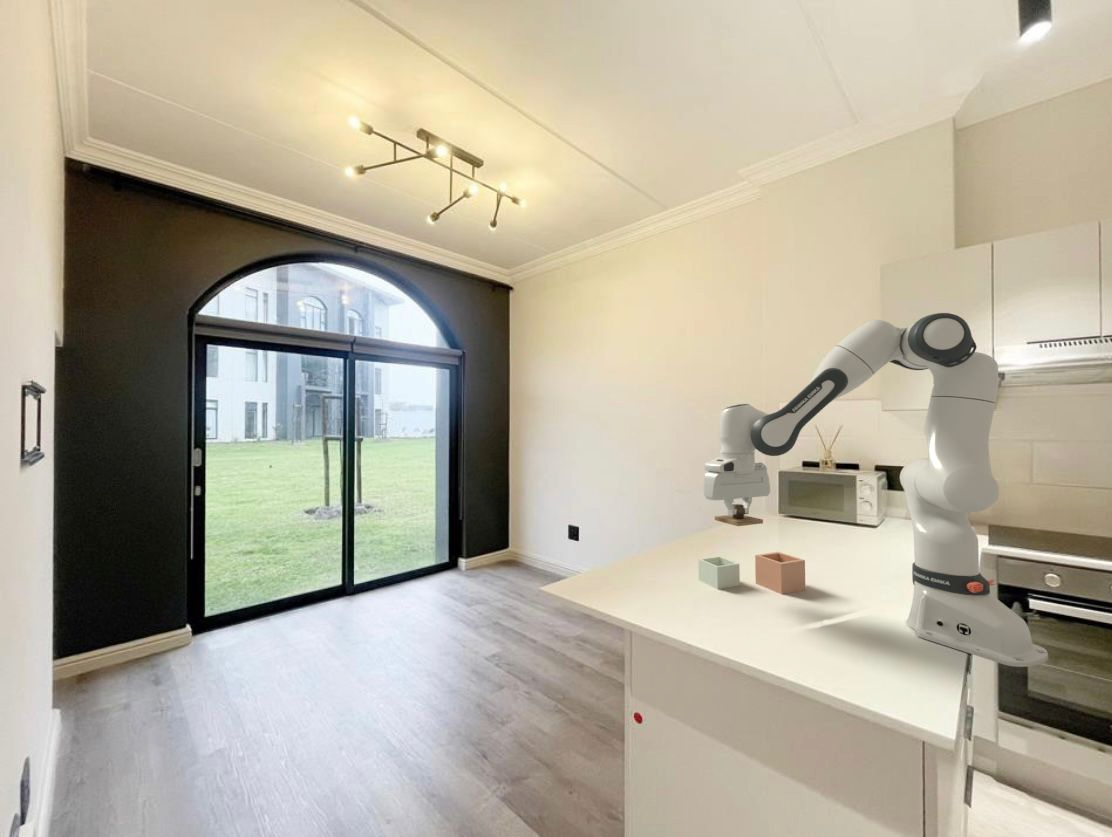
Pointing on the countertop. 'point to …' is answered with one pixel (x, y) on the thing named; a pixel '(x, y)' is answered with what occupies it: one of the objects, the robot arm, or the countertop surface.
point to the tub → (719, 572)
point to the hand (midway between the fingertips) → (738, 514)
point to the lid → (739, 517)
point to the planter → (780, 572)
